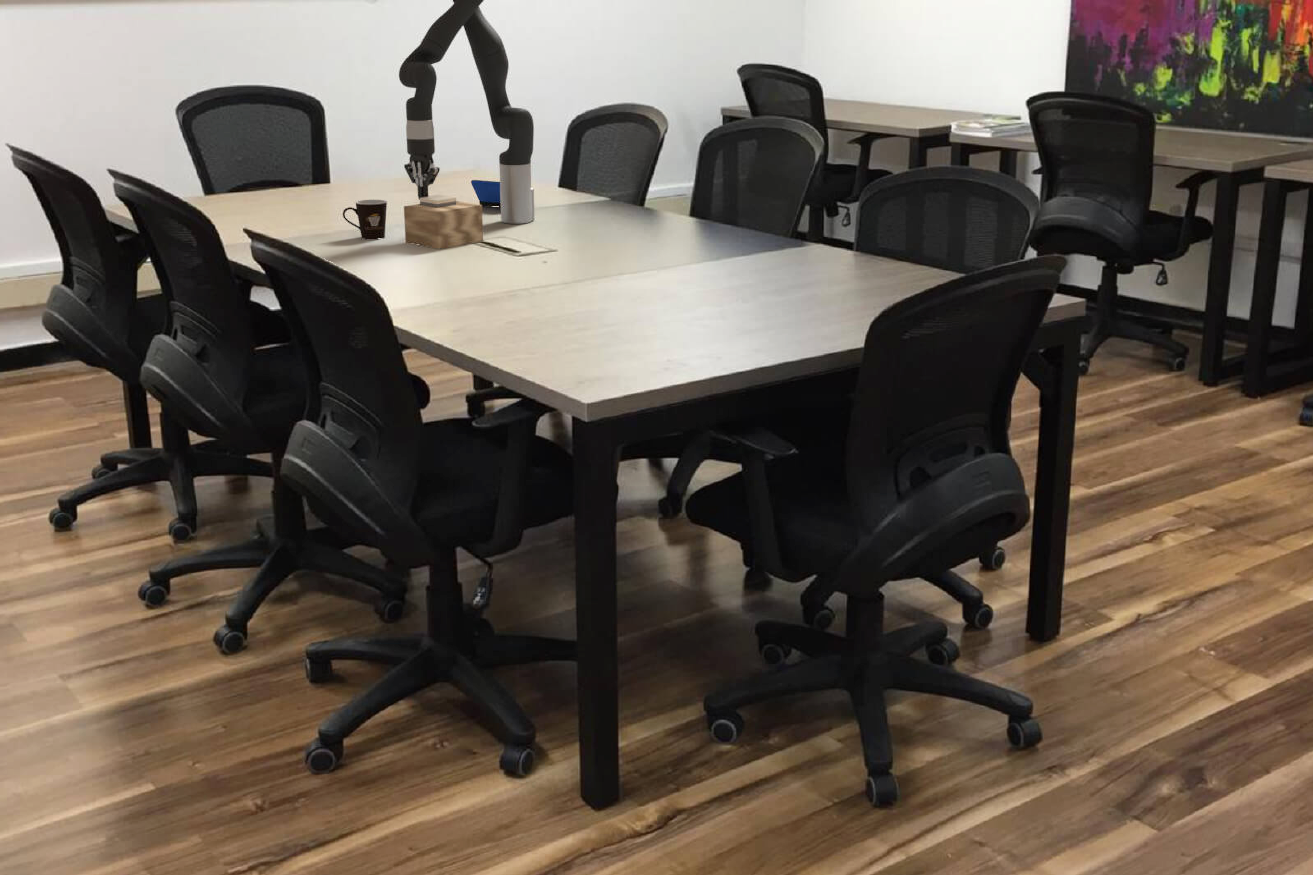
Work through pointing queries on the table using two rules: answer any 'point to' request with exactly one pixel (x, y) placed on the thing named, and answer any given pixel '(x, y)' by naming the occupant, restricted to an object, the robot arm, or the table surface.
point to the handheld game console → (487, 192)
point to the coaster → (438, 201)
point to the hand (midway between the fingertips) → (423, 199)
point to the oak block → (443, 225)
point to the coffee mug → (370, 218)
